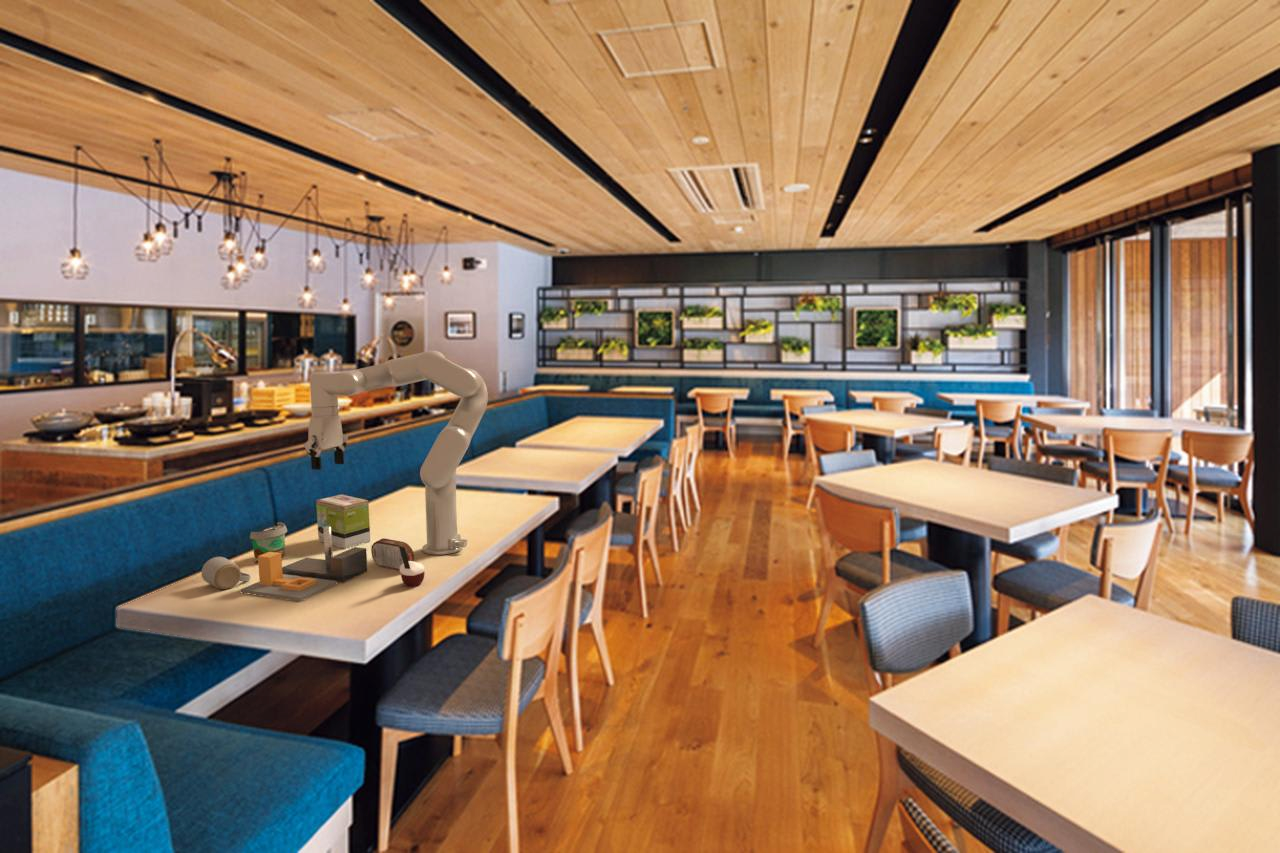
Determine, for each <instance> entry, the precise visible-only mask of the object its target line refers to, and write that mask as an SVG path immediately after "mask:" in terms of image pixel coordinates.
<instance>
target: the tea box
mask: <svg viewBox="0 0 1280 853" xmlns="http://www.w3.org/2000/svg"><path fill="white" fill-rule="evenodd" d="M315 506H316V520H317V534H318V541H319V542H321V543H324V530H323V527H325V526H331V536H332V546H334V547H338V548H341V549H343V550H346V548H347V549H351V548H354V547H357V546H360V545H359V544H361V545H363V544H362V543H364V544H366V542H367V543H369V541H370V542H371V525H370V509H369V506H370V504H369V500H367V499H363V498H359V497H354V496H349V495H347V494H341V493H340V494H337V495H333V496H329V497H325V498H320V499H316V500H315ZM356 545H357V546H356ZM353 546H354V547H353ZM350 547H351V548H350Z"/></svg>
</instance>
